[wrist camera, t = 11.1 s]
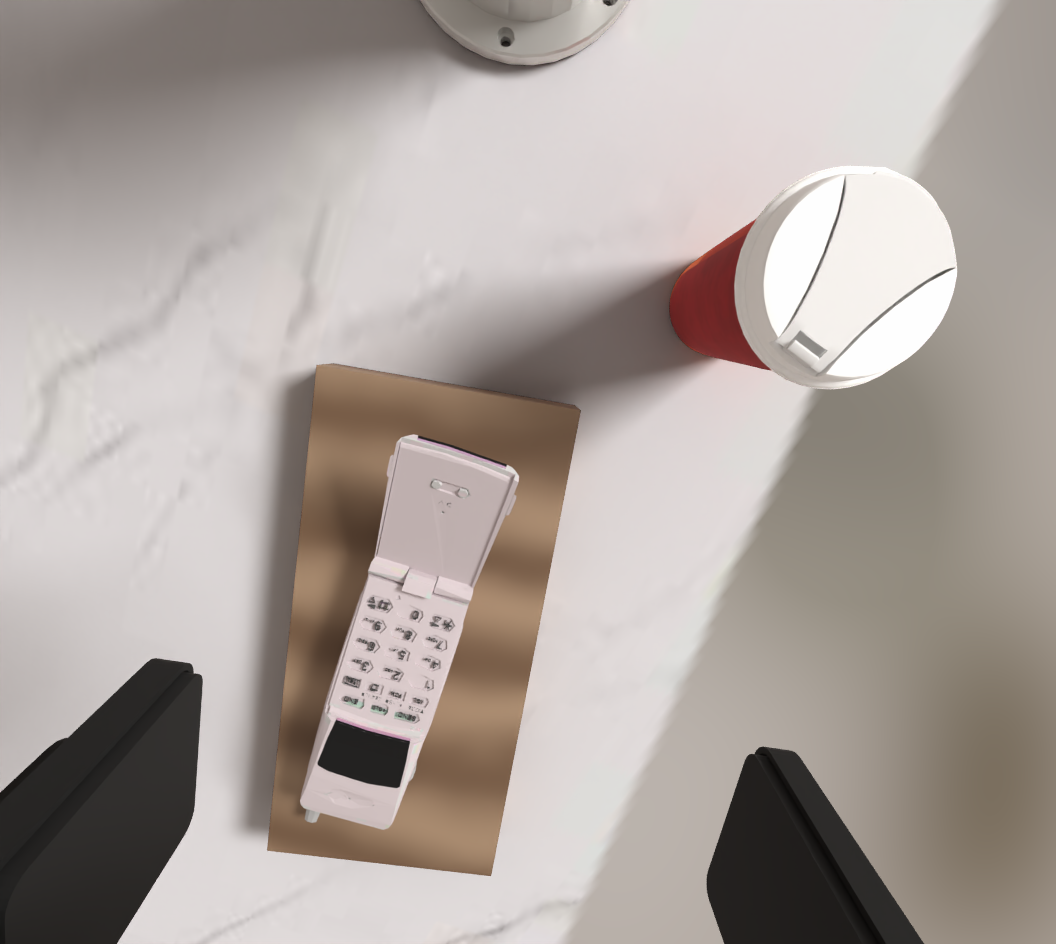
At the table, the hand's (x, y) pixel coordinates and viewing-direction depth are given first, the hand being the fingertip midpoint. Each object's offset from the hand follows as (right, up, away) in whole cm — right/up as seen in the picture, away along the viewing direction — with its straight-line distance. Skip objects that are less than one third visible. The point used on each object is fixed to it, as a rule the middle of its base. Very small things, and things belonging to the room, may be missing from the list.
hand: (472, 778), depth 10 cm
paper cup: (+12, +15, +24) cm, 30 cm away
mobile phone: (-6, -4, +24) cm, 25 cm away
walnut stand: (-6, -4, +27) cm, 28 cm away
